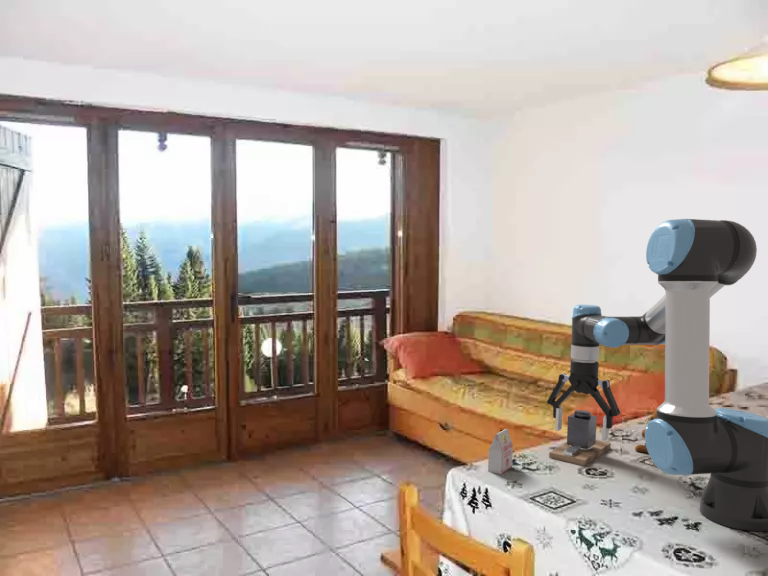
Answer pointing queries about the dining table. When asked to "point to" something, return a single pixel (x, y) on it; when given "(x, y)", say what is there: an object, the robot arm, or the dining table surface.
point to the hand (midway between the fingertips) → (581, 434)
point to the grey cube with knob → (581, 429)
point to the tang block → (579, 452)
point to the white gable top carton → (500, 453)
